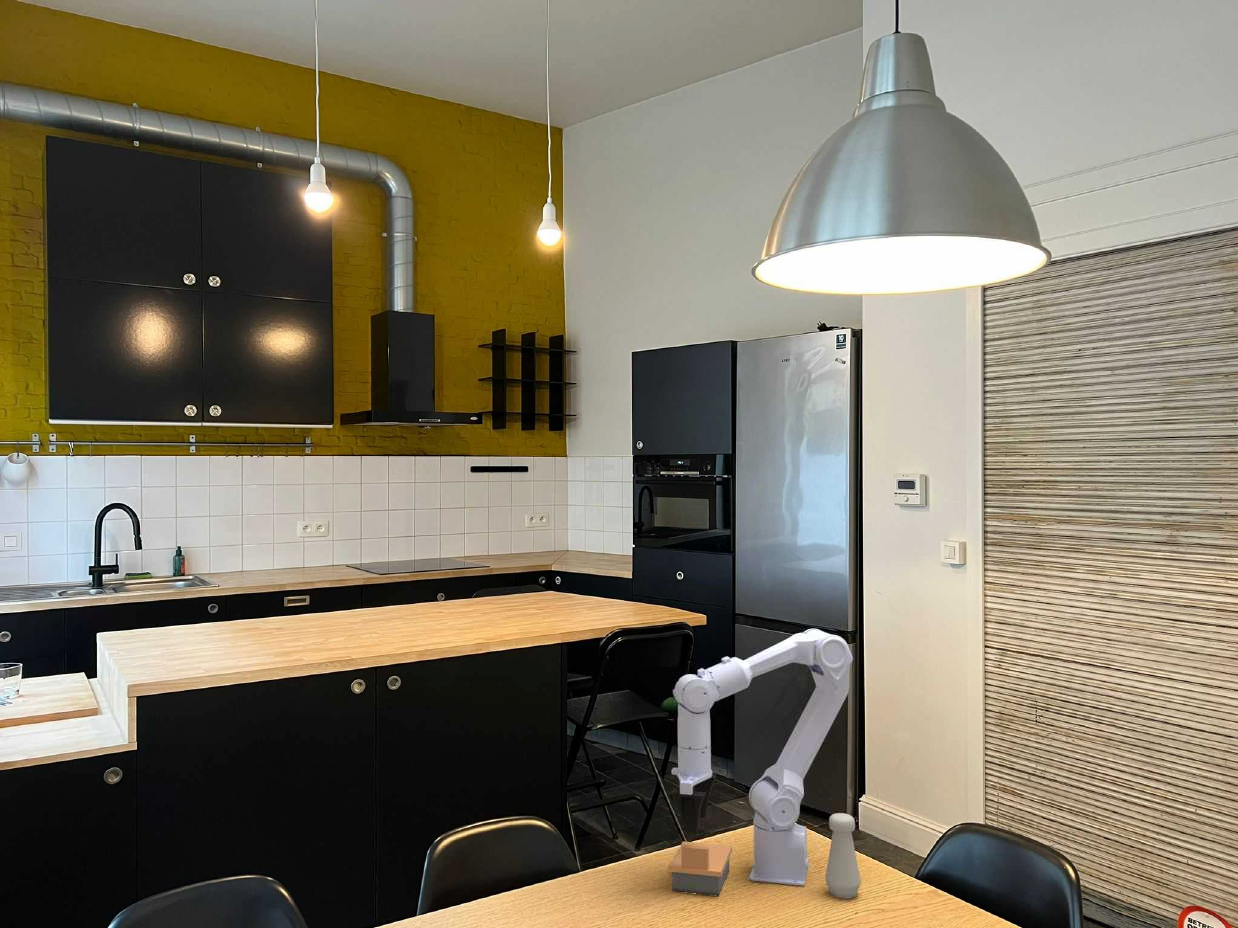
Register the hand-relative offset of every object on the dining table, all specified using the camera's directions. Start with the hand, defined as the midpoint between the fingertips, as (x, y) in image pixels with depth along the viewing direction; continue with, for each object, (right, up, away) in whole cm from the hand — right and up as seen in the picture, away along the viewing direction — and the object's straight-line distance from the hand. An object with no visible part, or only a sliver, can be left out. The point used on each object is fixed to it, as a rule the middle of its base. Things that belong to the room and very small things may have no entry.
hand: (695, 823), depth 161 cm
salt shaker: (+24, -10, -6) cm, 27 cm away
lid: (+1, -6, 0) cm, 6 cm away
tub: (+1, -10, 0) cm, 10 cm away
